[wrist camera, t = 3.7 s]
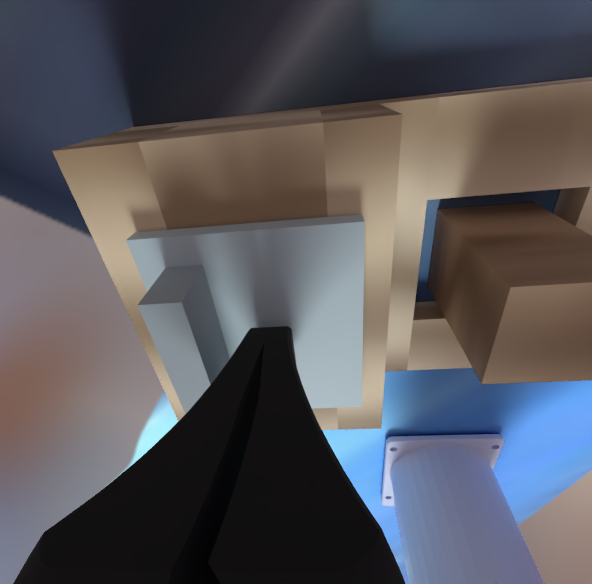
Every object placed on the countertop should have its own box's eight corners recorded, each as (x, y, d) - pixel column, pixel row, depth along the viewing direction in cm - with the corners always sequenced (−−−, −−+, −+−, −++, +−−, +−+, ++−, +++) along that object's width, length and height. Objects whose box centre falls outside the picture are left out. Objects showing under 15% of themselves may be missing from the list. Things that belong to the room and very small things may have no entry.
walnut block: (509, 279, 17) (605, 379, 11) (426, 284, 17) (481, 384, 12) (532, 201, 14) (665, 278, 9) (437, 209, 15) (510, 287, 9)
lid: (360, 395, 14) (369, 453, 12) (200, 400, 15) (181, 456, 13) (362, 213, 10) (376, 254, 8) (134, 232, 10) (87, 274, 8)
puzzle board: (650, 340, 18) (751, 418, 14) (210, 359, 20) (184, 433, 16) (837, 50, 11) (1150, 35, 7) (133, 127, 13) (52, 151, 9)
